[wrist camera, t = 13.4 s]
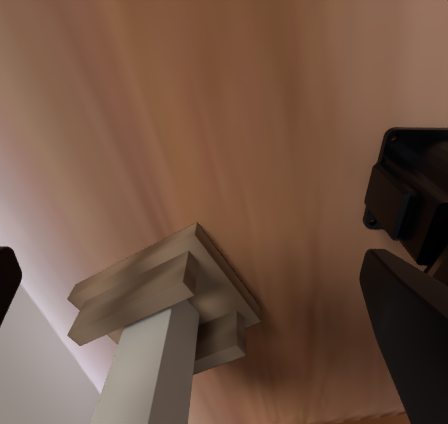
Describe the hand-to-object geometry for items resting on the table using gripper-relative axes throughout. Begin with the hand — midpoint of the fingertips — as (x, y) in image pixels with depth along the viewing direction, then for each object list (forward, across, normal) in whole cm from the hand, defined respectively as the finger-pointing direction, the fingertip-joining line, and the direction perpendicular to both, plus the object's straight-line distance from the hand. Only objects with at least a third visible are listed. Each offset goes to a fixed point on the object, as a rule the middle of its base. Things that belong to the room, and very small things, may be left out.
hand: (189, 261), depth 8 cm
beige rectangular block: (+10, +4, +13) cm, 17 cm away
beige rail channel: (+12, +4, +13) cm, 18 cm away
